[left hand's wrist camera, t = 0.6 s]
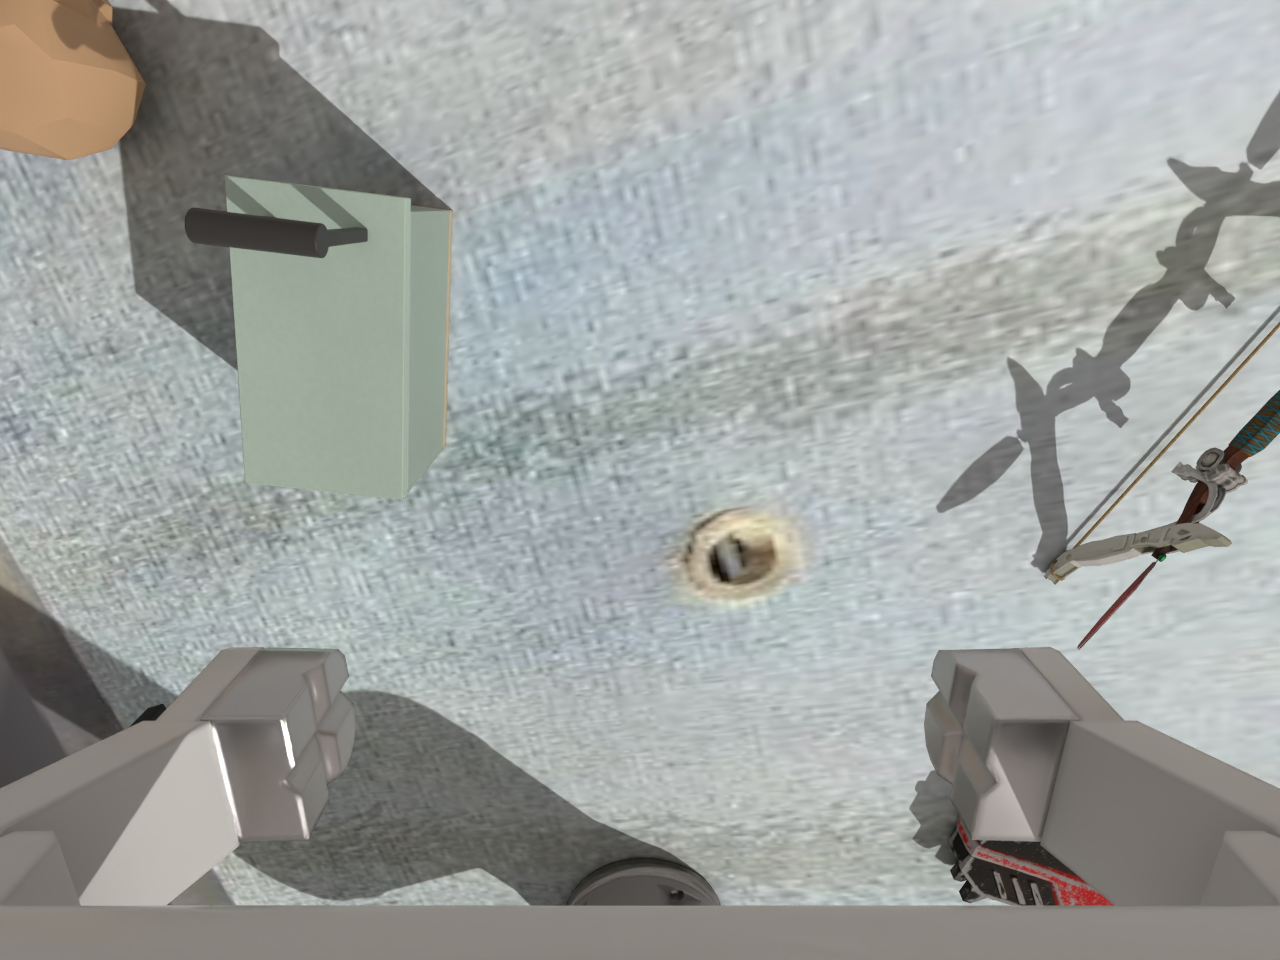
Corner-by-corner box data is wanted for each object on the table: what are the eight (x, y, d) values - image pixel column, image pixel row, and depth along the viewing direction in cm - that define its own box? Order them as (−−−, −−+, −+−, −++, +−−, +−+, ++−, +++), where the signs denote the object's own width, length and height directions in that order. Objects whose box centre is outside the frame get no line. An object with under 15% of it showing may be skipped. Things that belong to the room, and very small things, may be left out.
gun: (1059, 735, 60) (941, 899, 67) (1381, 845, 63) (1237, 991, 70) (1032, 700, 64) (924, 857, 71) (1336, 804, 68) (1205, 946, 74)
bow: (1036, 603, 61) (1108, 675, 52) (1019, 592, 61) (1089, 663, 51) (1437, 168, 50) (1622, 160, 40) (1419, 152, 49) (1601, 140, 40)
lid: (234, 175, 41) (136, 169, 33) (411, 197, 41) (356, 196, 33) (253, 477, 47) (175, 532, 39) (407, 493, 47) (360, 551, 39)
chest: (308, 192, 50) (235, 189, 41) (452, 210, 51) (411, 211, 42) (316, 432, 56) (253, 476, 47) (445, 446, 57) (408, 493, 47)
